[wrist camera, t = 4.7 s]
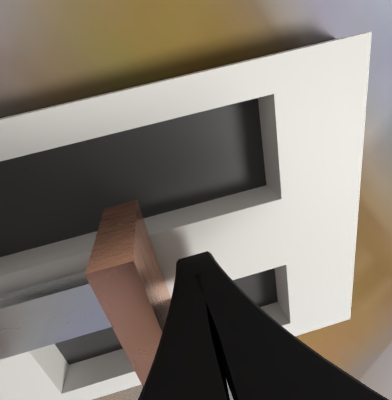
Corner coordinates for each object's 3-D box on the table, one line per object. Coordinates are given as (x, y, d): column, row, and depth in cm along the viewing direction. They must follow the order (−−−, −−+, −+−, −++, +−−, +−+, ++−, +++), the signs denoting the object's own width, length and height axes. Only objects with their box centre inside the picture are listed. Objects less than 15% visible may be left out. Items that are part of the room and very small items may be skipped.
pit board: (330, 296, 14) (350, 318, 13) (17, 391, 13) (3, 427, 12) (337, 38, 9) (371, 31, 8) (-189, 162, 8) (-257, 180, 6)
